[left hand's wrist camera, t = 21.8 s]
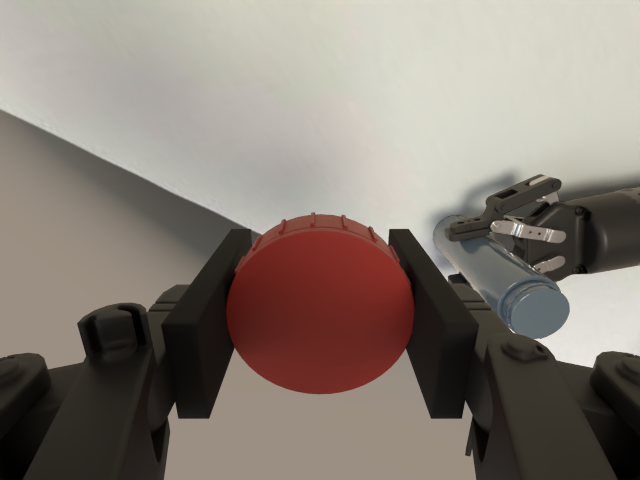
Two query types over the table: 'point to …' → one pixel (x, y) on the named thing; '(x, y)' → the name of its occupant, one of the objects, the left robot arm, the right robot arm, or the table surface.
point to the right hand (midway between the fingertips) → (449, 260)
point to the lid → (320, 305)
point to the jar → (506, 283)
